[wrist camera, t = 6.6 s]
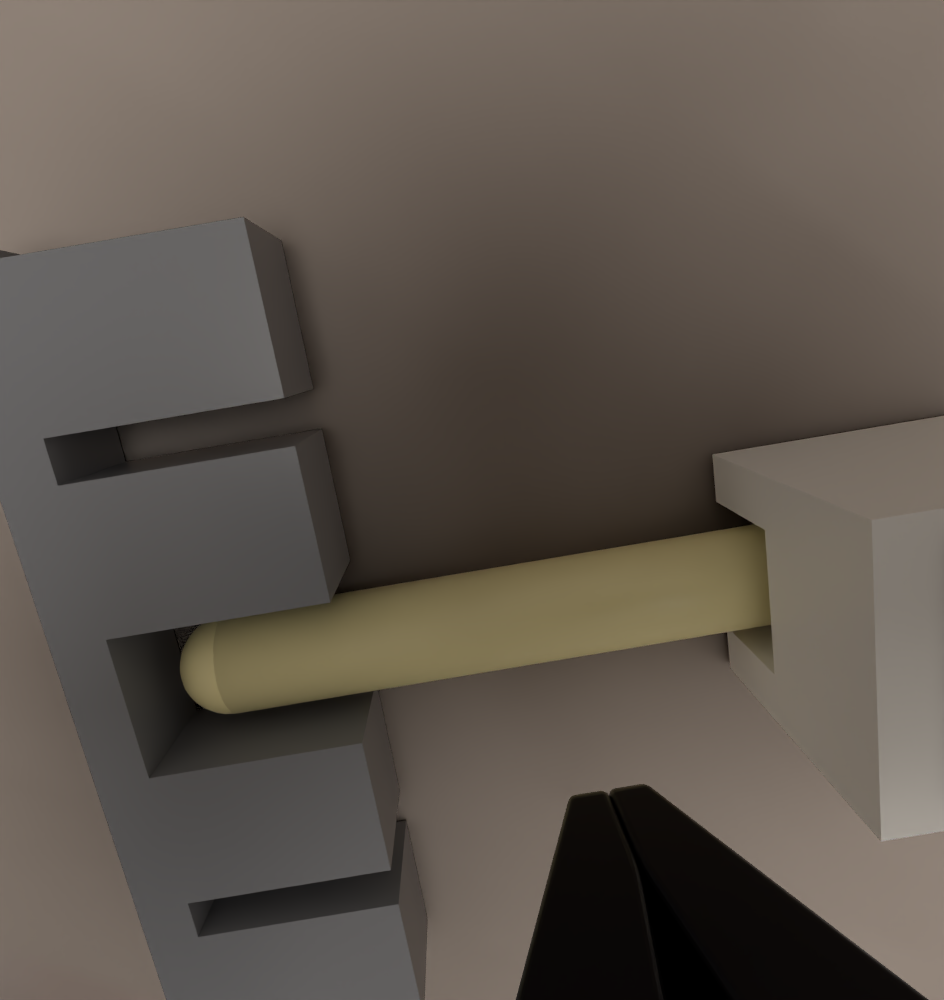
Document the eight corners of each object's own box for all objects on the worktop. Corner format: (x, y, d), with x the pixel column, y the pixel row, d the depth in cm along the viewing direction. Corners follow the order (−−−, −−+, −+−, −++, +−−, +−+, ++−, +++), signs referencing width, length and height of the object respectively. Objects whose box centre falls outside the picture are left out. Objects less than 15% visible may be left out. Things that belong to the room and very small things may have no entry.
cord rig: (224, 959, 16) (175, 1094, 13) (17, 274, 13) (-113, 252, 10) (1172, 804, 16) (1332, 905, 13) (1233, 68, 13) (1472, -17, 10)
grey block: (730, 667, 15) (885, 845, 10) (712, 454, 14) (876, 522, 8) (955, 630, 15) (1236, 788, 9) (955, 413, 14) (1272, 455, 8)
